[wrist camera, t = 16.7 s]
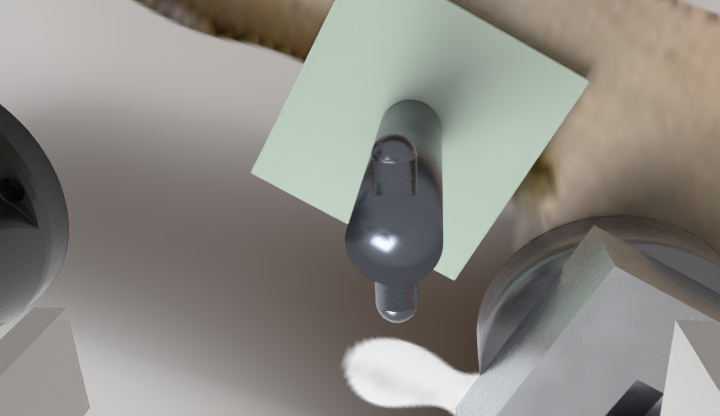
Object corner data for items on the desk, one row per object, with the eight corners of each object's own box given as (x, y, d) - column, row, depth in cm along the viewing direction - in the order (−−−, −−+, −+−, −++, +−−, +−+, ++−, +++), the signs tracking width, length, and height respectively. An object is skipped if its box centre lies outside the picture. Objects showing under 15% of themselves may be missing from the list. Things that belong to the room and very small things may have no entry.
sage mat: (255, 166, 35) (250, 172, 34) (361, -50, 31) (358, -50, 30) (454, 271, 36) (454, 280, 35) (585, 77, 32) (589, 81, 31)
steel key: (377, 64, 31) (340, 141, 19) (442, 62, 31) (444, 140, 19) (381, 192, 34) (349, 331, 22) (441, 192, 33) (442, 333, 21)
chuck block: (430, 366, 39) (427, 468, 31) (572, 167, 33) (608, 234, 26) (635, 472, 40) (679, 594, 32) (804, 296, 34) (902, 394, 27)
